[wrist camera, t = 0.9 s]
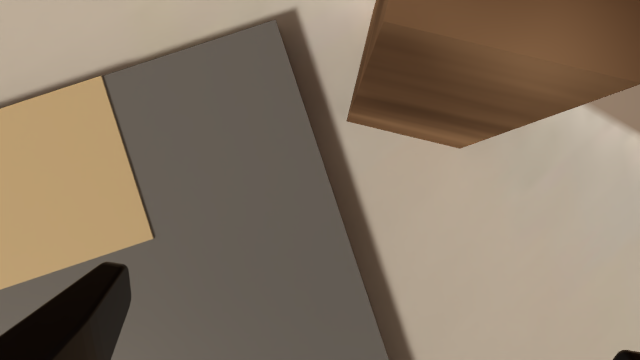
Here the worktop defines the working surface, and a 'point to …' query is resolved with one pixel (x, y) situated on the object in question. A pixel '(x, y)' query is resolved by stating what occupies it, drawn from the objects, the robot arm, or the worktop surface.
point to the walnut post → (490, 64)
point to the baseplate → (186, 208)
